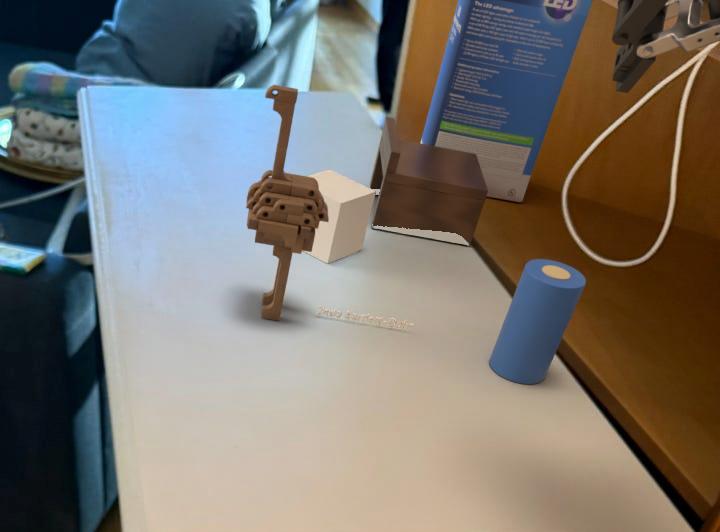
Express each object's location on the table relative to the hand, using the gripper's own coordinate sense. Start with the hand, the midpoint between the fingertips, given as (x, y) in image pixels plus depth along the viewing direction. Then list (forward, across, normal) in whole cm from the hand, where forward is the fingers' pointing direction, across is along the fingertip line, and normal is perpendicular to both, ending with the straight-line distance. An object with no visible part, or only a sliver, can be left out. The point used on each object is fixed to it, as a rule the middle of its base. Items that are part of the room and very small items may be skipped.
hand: (687, 91), depth 58 cm
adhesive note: (+40, +18, -3) cm, 44 cm away
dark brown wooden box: (+48, +7, -12) cm, 50 cm away
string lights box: (+58, 0, -22) cm, 62 cm away
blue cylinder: (+26, -1, +10) cm, 28 cm away
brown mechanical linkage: (+29, +18, +8) cm, 35 cm away
